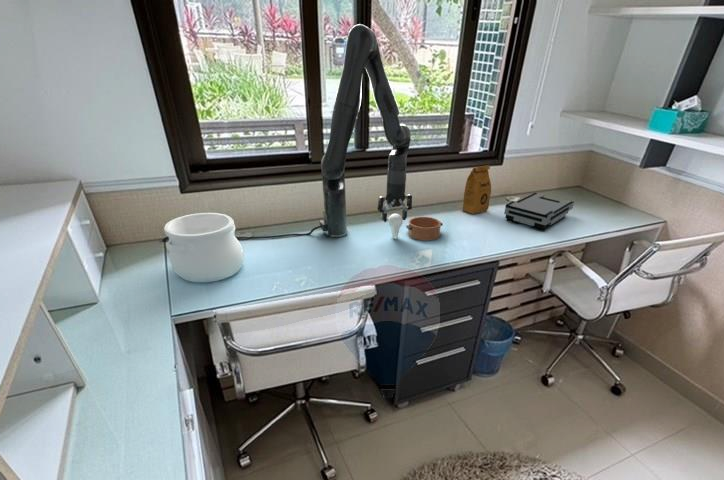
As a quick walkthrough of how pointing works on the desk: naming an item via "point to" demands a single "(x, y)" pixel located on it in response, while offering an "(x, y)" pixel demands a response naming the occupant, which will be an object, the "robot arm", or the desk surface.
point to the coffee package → (477, 190)
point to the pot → (204, 247)
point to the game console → (537, 211)
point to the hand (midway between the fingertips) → (394, 220)
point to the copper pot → (424, 228)
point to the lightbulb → (395, 224)
